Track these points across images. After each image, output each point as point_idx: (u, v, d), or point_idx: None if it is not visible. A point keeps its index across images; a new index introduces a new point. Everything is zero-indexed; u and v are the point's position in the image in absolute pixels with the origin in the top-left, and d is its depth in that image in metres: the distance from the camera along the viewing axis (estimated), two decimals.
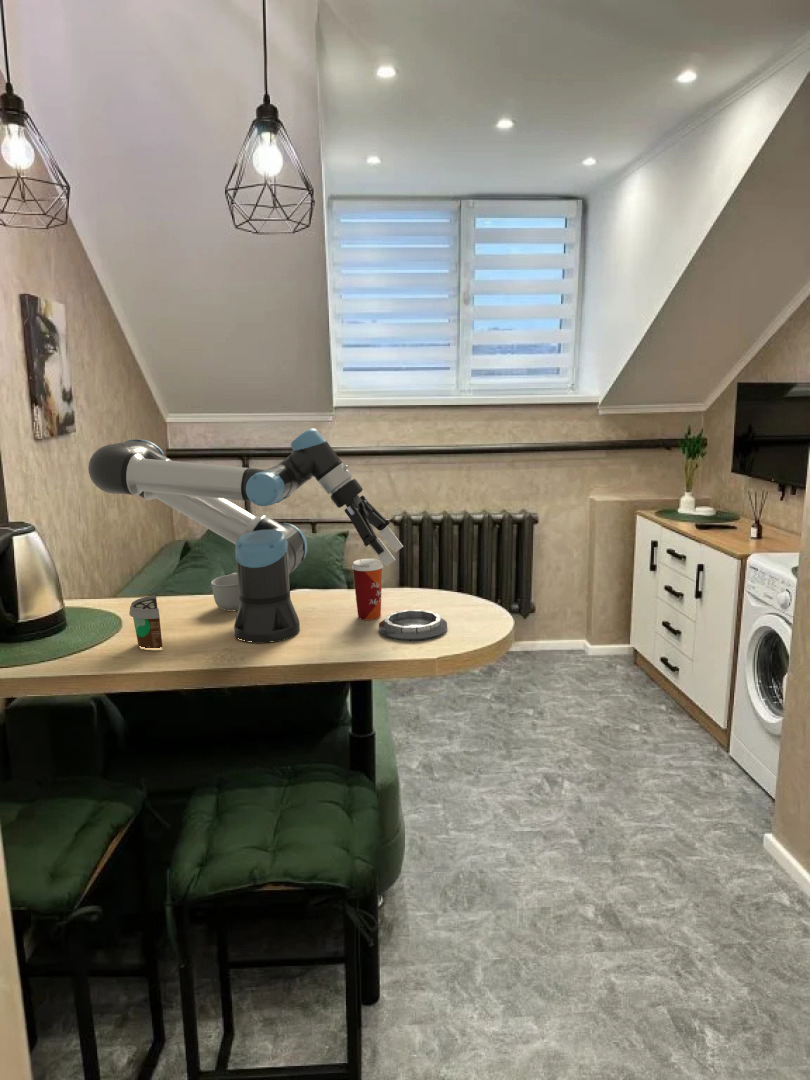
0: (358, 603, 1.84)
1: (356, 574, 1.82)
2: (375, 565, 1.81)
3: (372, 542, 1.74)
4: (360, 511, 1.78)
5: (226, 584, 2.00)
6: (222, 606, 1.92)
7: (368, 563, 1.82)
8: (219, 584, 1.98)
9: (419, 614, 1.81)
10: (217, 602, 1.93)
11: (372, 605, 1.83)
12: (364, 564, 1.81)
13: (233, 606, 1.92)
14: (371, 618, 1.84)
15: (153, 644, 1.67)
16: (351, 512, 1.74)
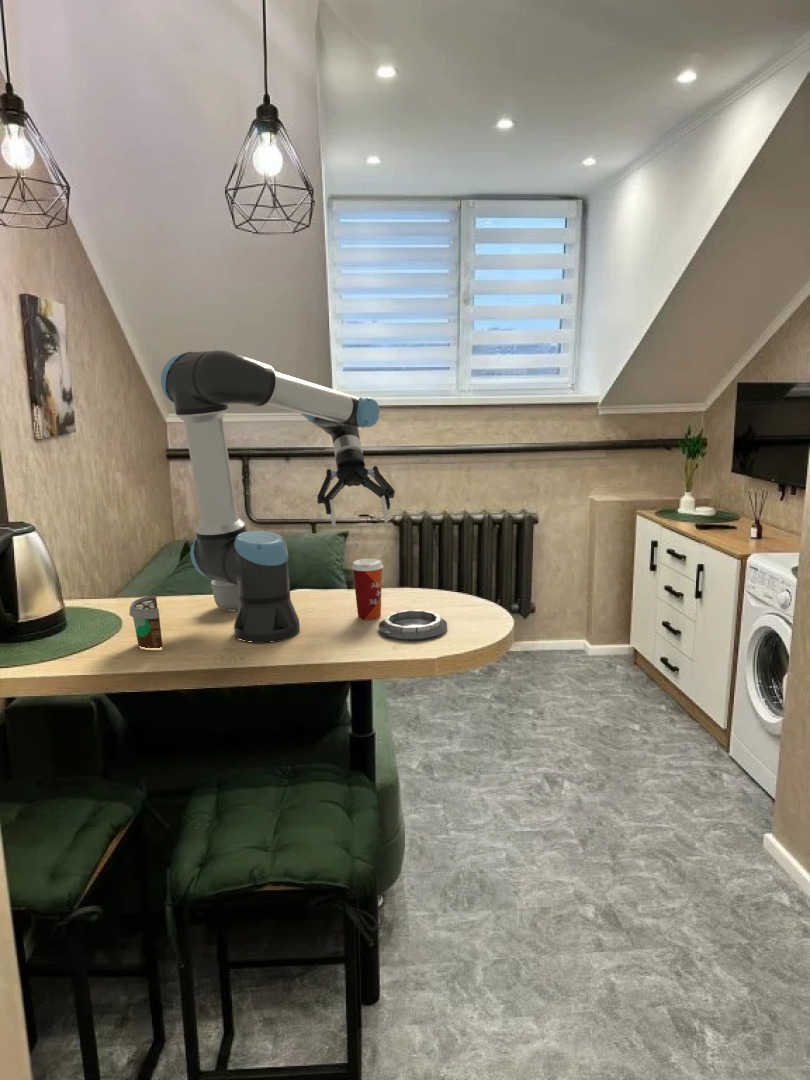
0: (358, 603, 1.84)
1: (356, 574, 1.82)
2: (375, 565, 1.81)
3: (389, 498, 1.97)
4: None
5: (226, 584, 2.00)
6: (222, 606, 1.92)
7: (368, 563, 1.82)
8: (219, 584, 1.98)
9: (419, 614, 1.81)
10: (217, 602, 1.93)
11: (372, 605, 1.83)
12: (364, 564, 1.81)
13: (233, 606, 1.92)
14: (371, 618, 1.84)
15: (153, 644, 1.67)
16: None
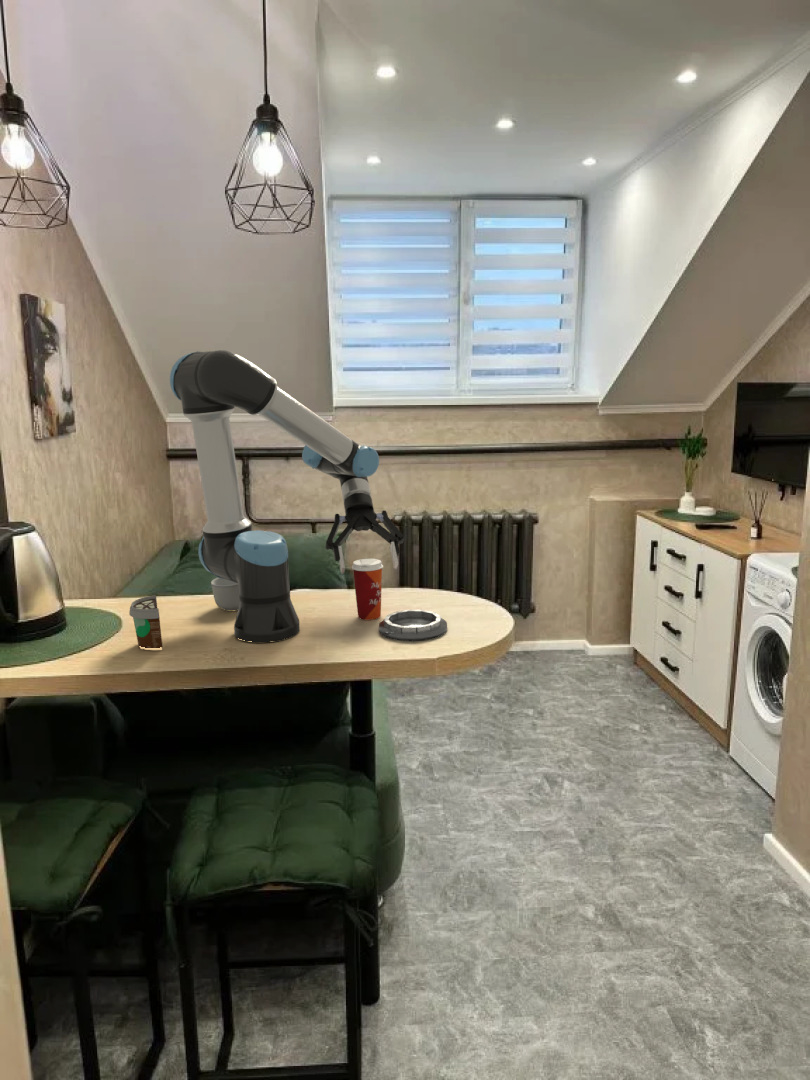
0: (358, 603, 1.84)
1: (356, 574, 1.82)
2: (375, 565, 1.81)
3: (398, 543, 1.94)
4: None
5: (226, 584, 2.00)
6: (222, 606, 1.92)
7: (368, 563, 1.82)
8: (219, 584, 1.98)
9: (419, 614, 1.81)
10: (217, 602, 1.93)
11: (372, 605, 1.83)
12: (364, 564, 1.81)
13: (233, 606, 1.92)
14: (371, 618, 1.84)
15: (153, 644, 1.67)
16: None
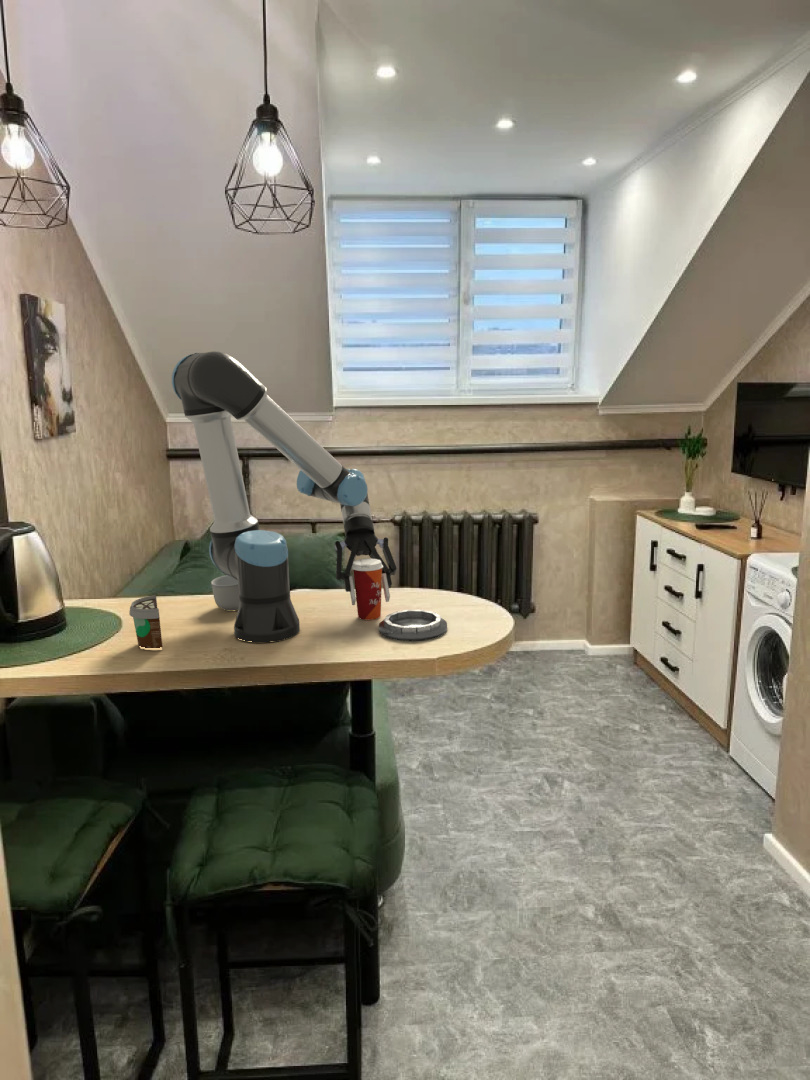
0: (358, 603, 1.84)
1: (356, 574, 1.82)
2: (375, 565, 1.81)
3: (390, 575, 1.87)
4: None
5: (226, 584, 2.00)
6: (222, 606, 1.92)
7: (368, 563, 1.82)
8: (219, 584, 1.98)
9: (419, 614, 1.81)
10: (217, 602, 1.93)
11: (372, 605, 1.83)
12: (364, 564, 1.81)
13: (233, 606, 1.92)
14: (371, 618, 1.84)
15: (153, 644, 1.67)
16: None
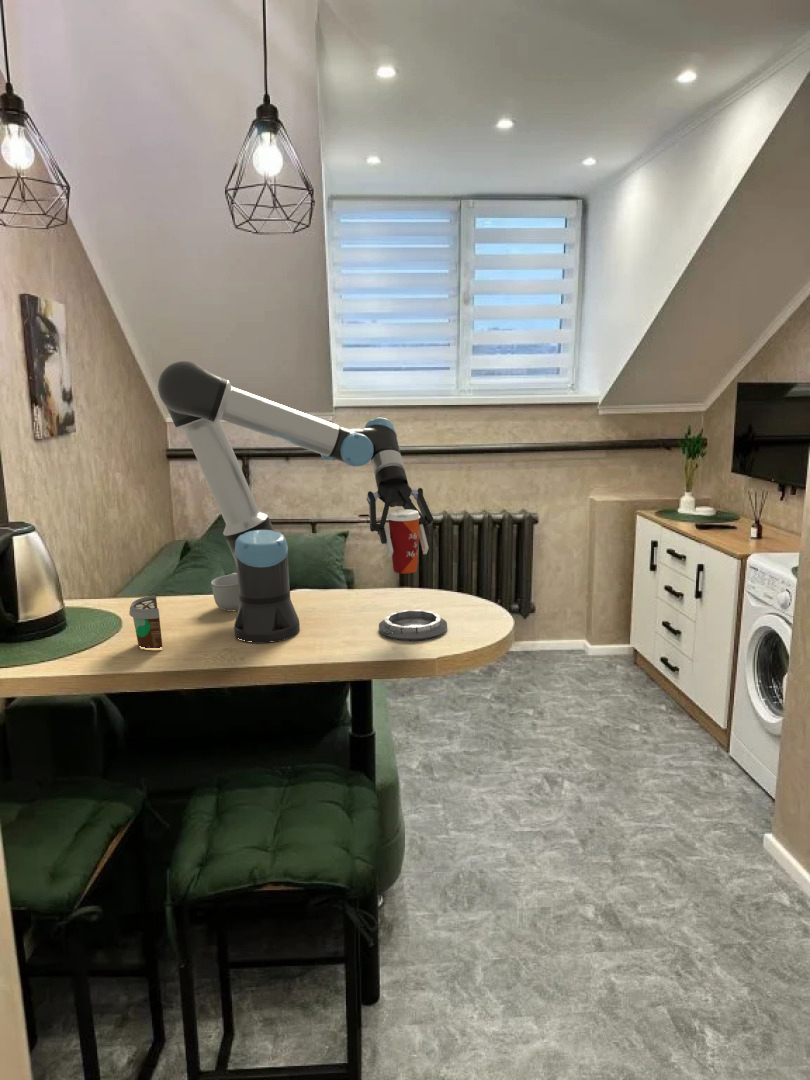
0: (394, 556, 1.74)
1: (393, 525, 1.72)
2: (413, 515, 1.71)
3: (426, 526, 1.77)
4: None
5: (226, 584, 2.00)
6: (222, 606, 1.92)
7: (405, 513, 1.72)
8: (219, 584, 1.98)
9: (419, 614, 1.81)
10: (217, 602, 1.93)
11: (409, 557, 1.73)
12: (401, 514, 1.71)
13: (233, 606, 1.92)
14: (408, 571, 1.74)
15: (153, 644, 1.67)
16: None
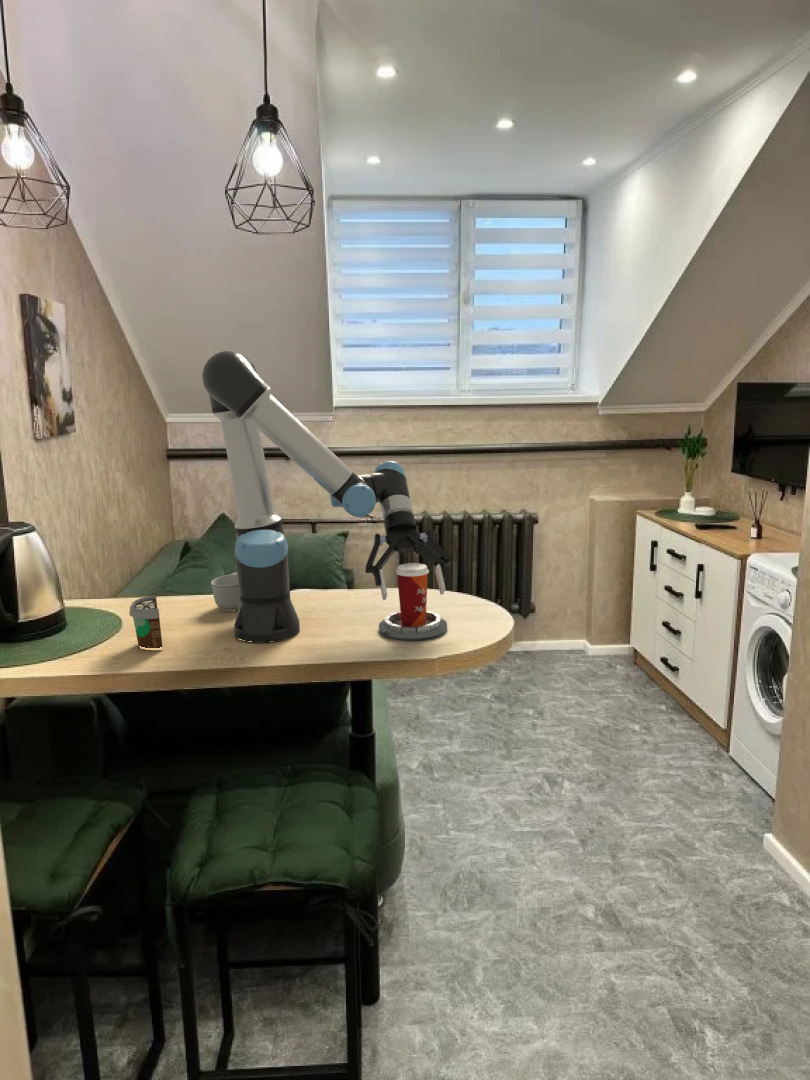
0: (402, 610, 1.73)
1: (401, 579, 1.71)
2: (421, 570, 1.70)
3: None
4: None
5: (226, 584, 2.00)
6: (222, 606, 1.92)
7: (413, 568, 1.71)
8: (219, 584, 1.98)
9: None
10: (217, 602, 1.93)
11: (417, 612, 1.72)
12: (409, 569, 1.70)
13: (233, 606, 1.92)
14: None
15: (153, 644, 1.67)
16: None
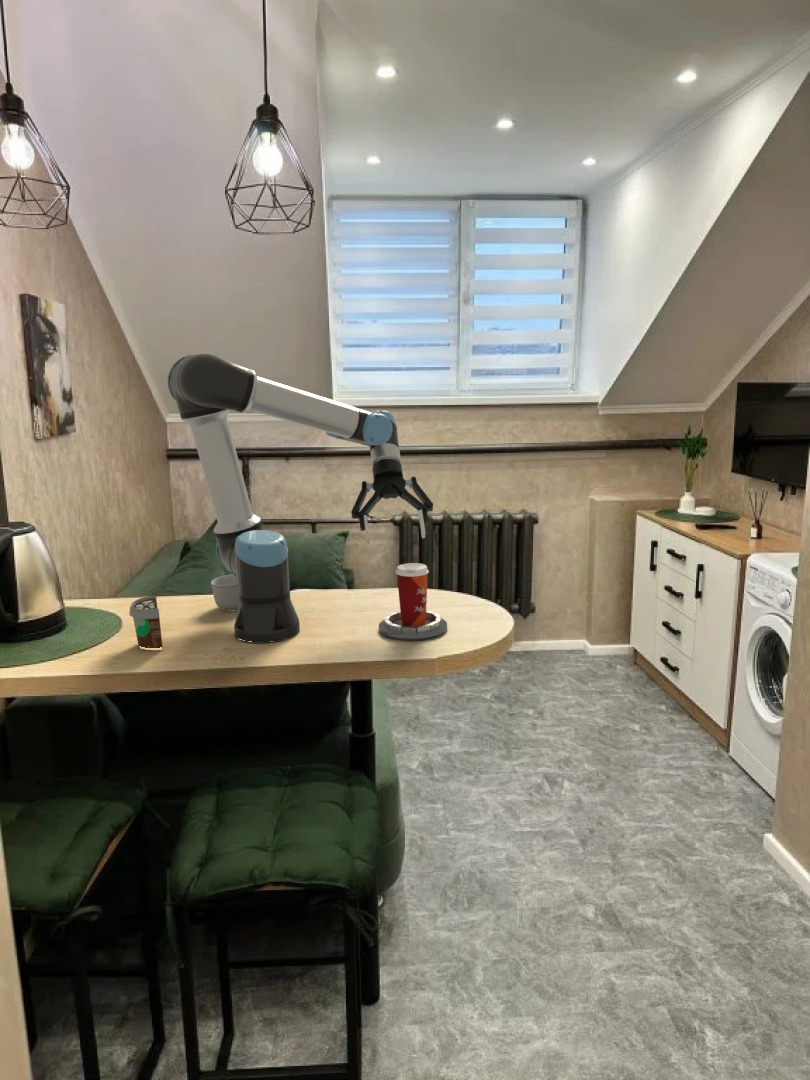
0: (402, 610, 1.73)
1: (401, 580, 1.71)
2: (421, 570, 1.70)
3: (427, 511, 1.86)
4: None
5: (226, 584, 2.00)
6: (222, 606, 1.92)
7: (413, 568, 1.71)
8: (219, 584, 1.98)
9: None
10: (217, 602, 1.93)
11: (417, 612, 1.72)
12: (409, 569, 1.70)
13: (233, 606, 1.92)
14: None
15: (153, 644, 1.67)
16: None
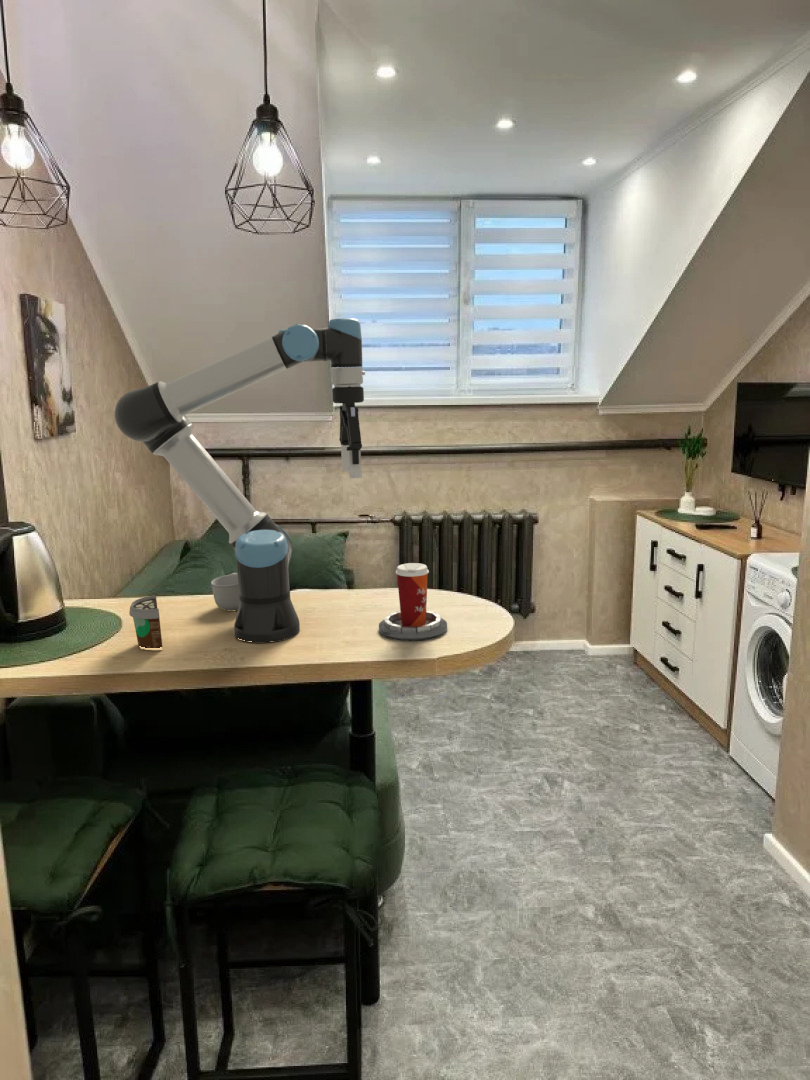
0: (402, 610, 1.73)
1: (401, 580, 1.71)
2: (421, 570, 1.70)
3: (355, 450, 1.75)
4: (354, 418, 1.78)
5: (226, 584, 2.00)
6: (222, 606, 1.92)
7: (413, 568, 1.71)
8: (219, 584, 1.98)
9: None
10: (217, 602, 1.93)
11: (417, 612, 1.72)
12: (409, 569, 1.70)
13: (233, 606, 1.92)
14: None
15: (153, 644, 1.67)
16: (352, 413, 1.74)
